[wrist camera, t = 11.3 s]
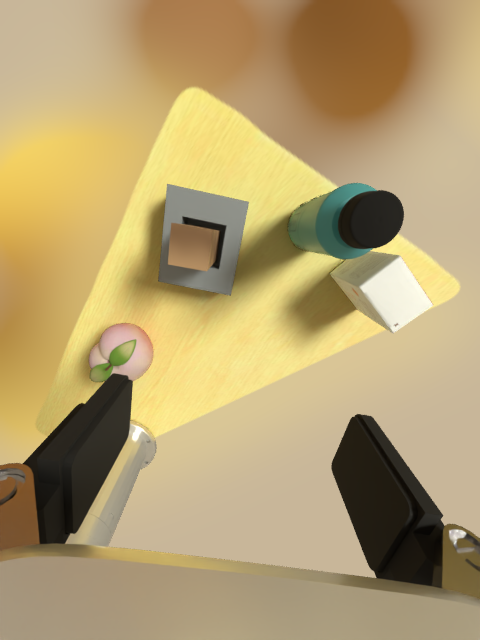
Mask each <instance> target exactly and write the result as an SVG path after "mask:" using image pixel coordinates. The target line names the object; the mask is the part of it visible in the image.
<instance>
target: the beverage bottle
mask: <svg viewBox="0 0 480 640" xmlns="http://www.w3.org/2000/svg"><path fill="white" fill-rule="evenodd" d="M320 195H321V194H320ZM320 195H318V196H320ZM304 203H305V204H304ZM304 203H302V204H301V205H299V206H300V207H299V206H298V207H297V208H296V210H295V211H294V213H293V214H292V216H290V217H291V218H290V220H289V224H288V226H287V230H288V232H289V236H290V239H291V240H292V242H293V243H294V246H295V245H296V246H297V247H298V248H299V249H300V248H301V250H303V249H304V250H306V251H307V250H308V251H312V252H315V253H321V254H326V255H330V256H333V257H335V258H339V259H354V258H357V257H360V256H362V255H364V254H366V253H368V252H369V251H370V250H372V249H373V248H378V247H381V246H383V245H385V244H387V243H388V242H390V241H391V240H392V239H393V238H394V237H395V236H396V235H397V234H398V232H399V230H400V228H401V226H402V223H403V218H404V211H403V206H402V204H401V202H400V200H399V199H398V198H397V197H396V196H395V195H394V194H392V193H390V192H387V191H383V190H381V191H380V190H379V191H377V190H375V189H374V188H372V187H371V186H368V185H366V184H361V183H351V184H347V185H344V186H341V187H339V188H337V189H335V190H333V191H332V192H330V193H328V194H324V195H322V196H320V197H318V198H317V197H316V199H315V198H314V200H313V199H312V201H310V202H309V201H307V202H304ZM315 253H314V254H315Z"/></svg>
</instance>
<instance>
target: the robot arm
mask: <svg viewBox="0 0 480 640" xmlns="http://www.w3.org/2000/svg"><path fill="white" fill-rule="evenodd" d="M132 385H133V381H132V380H129V377H128V376H127V375H122V374H116V373H113V374H112V375H111V376H110V377H109V378H108V379H107V380H106V381H105V382H104V383H103V384H102V386H101V387H100V388H99V389H98V390H97V391H96V392H95V393H94V395H93V396H92V397H91V398H90V399H89V400H88V401H87V402H86V404H83V403H81V404H79V405H77V406H76V407H75V408H74V409H73V410H72V411H71V413H70V414H69V415H68V416H67V417H66V418H65V419H64V420H63V421H62V422H61V423H60V424H59V425H58V426H57V428H56V429H55V430H54V431H53V432H52V433H51V434H50V435H49V436H48V437H47V438H46V439H45V440H44V442H43V443H42V444H41V445H40V446H39V447H38V448H37V449H36V450H35V451H34V452H33V453H32V455H30V457H29V458H28V459H27V460H26V461H25V462H24V463H23V464H20V463H11V464H10V463H9V464H5V465H0V640H480V538H478V537H477V536H476V535H475V534H473V533H472V532H470V531H469V530H467V529H465V528H463V527H461V526H458V525H456V524H447V525H445V526H444V524H443V523H442V521H441V518H442V517H443V515H442V513H441V512H440V510H439V509H438V508H437V506H436V505H435V503H434V502H433V501H432V499H431V498H430V496H429V495H428V494H427V492H426V491H425V489H424V488H423V487H422V485H421V484H420V482H419V481H418V480H417V478H416V477H415V476H414V474H413V473H412V471H411V470H410V469H409V467H408V466H407V465H406V463H405V462H404V460H403V459H402V457H401V456H400V455H399V453H398V452H397V450H396V449H395V448H394V446H393V445H392V443H391V442H390V441H389V439H388V438H387V437H386V435H385V434H384V432H383V431H382V430H381V428H380V427H379V425H378V424H377V423H376V421H375V420H374V418H372V417H371V416H367V415H361V414H357V415H355V417H352V418H351V420H350V422H349V424H348V426H347V429H346V431H345V433H344V436H343V438H342V440H341V443H340V445H339V448H338V450H337V452H336V454H335V457H334V459H333V461H332V472H333V475H334V478H335V480H336V483H337V485H338V488H339V490H340V493H341V495H342V498H343V501H344V503H345V506H346V509H347V511H348V514H349V516H350V519H351V522H352V524H353V526H354V529H355V532H356V535H357V537H358V539H359V542H360V545H361V547H362V550H363V552H364V555H365V557H366V560H367V563H368V565H369V567H370V568H371V569H372V570H373V571H374V572H375V575H376V577H377V578H370V577H362V576H354V575H346V574H338V573H331V572H323V571H315V570H307V569H299V568H291V567H283V566H275V565H266V564H258V563H250V562H241V561H233V560H225V559H216V558H207V557H199V556H190V555H182V554H173V553H164V552H155V551H146V550H137V549H127V548H115V547H108V546H109V543H110V541H111V538H112V536H113V534H114V531H115V529H116V527H117V524H118V522H119V519H120V517H121V515H122V512H123V510H124V507H125V505H126V503H127V500H128V498H129V495H130V493H131V491H132V488H133V486H134V483H135V481H136V479H137V476H138V474H139V471H140V469H142V468H145V467H146V466H147V465H149V464H150V463H151V461H152V460H153V458H154V456H155V453H156V441H155V439H154V437H153V435H152V434H151V432H150V431H149V430H148V429H147V428H145V427H144V426H143V425H141V424H139V423H137V422H134V421H132V420H130V415H131V400H132Z"/></svg>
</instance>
